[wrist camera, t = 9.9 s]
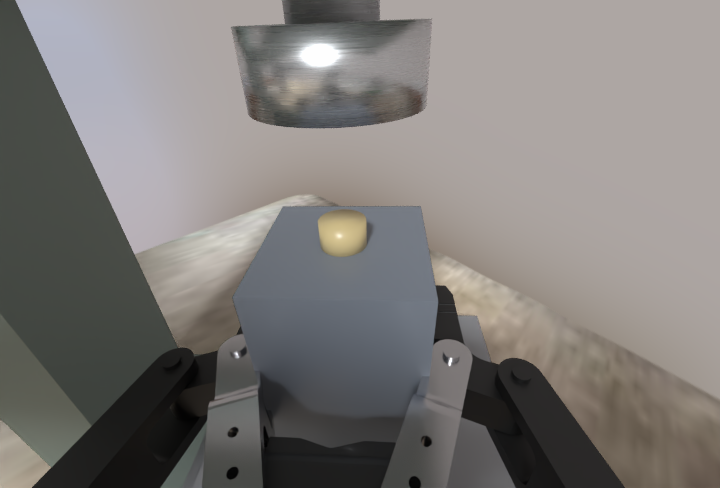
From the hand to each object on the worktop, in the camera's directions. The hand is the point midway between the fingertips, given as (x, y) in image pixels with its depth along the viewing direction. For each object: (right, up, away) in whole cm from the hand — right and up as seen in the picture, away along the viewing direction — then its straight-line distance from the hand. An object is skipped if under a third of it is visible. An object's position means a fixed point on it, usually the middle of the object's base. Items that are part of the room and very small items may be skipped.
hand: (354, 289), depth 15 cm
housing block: (0, -7, +1) cm, 7 cm away
